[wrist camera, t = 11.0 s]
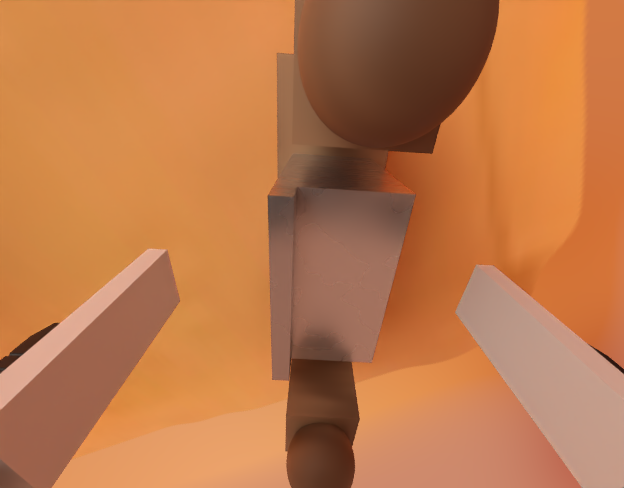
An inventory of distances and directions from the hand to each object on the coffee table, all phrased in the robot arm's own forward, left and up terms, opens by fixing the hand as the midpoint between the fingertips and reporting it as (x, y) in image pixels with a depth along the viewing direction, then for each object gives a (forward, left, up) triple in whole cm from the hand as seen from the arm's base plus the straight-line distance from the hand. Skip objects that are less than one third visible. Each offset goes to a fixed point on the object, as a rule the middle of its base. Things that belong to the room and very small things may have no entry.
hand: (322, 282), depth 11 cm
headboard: (0, 0, -9) cm, 9 cm away
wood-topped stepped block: (0, 0, -8) cm, 8 cm away
